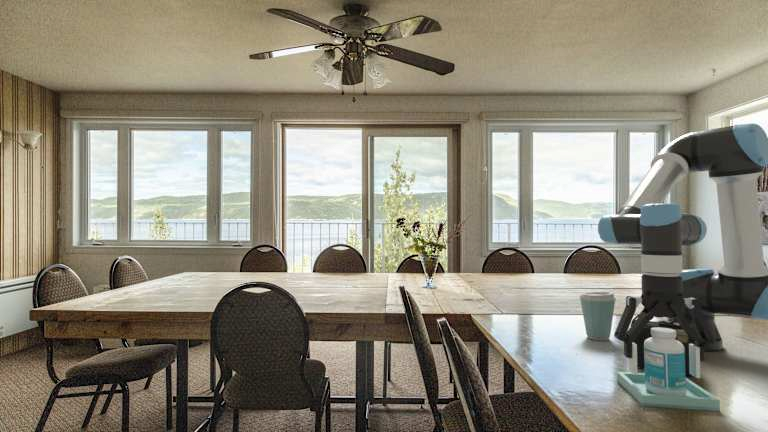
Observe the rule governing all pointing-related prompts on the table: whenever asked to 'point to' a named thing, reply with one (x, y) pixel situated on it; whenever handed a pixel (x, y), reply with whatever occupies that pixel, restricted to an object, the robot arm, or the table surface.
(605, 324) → the disposable coffee cup
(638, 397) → the tray
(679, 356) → the pill bottle
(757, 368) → the table surface
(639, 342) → the camera
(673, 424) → the table surface
